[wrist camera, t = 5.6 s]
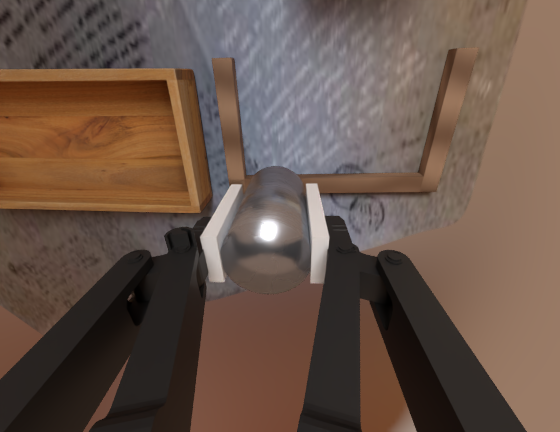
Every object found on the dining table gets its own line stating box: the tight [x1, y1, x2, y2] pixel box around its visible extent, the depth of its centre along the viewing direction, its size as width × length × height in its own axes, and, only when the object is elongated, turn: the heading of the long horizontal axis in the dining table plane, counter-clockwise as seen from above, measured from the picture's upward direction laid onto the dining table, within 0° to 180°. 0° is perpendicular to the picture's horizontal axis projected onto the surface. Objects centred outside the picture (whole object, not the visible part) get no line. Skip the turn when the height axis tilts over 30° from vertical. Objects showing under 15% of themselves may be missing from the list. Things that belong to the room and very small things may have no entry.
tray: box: [0, 69, 212, 213], centre depth 29 cm, size 31×15×6 cm, turn 90°
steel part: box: [220, 166, 311, 294], centre depth 15 cm, size 4×4×8 cm
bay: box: [212, 48, 479, 194], centre depth 29 cm, size 15×26×2 cm, turn 92°
